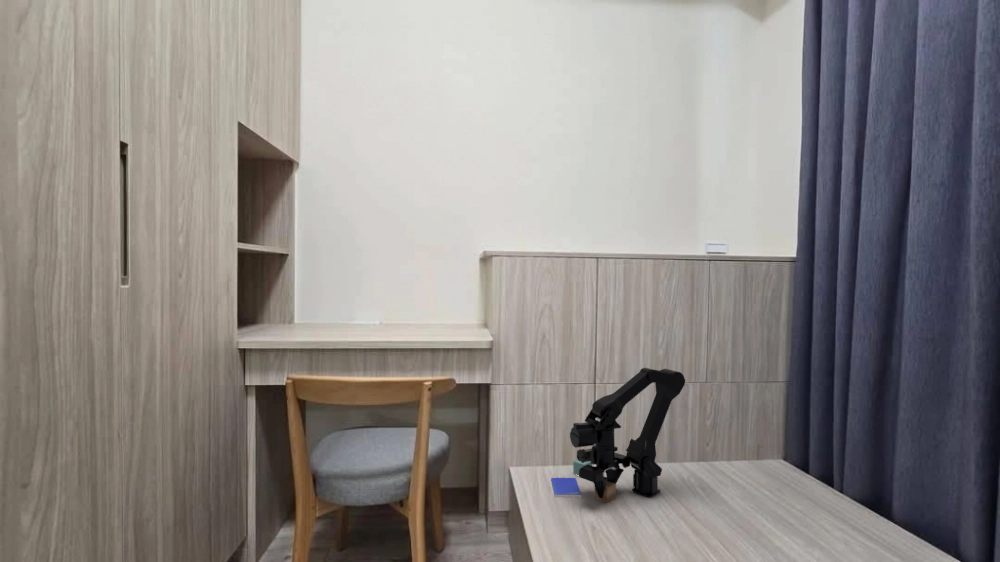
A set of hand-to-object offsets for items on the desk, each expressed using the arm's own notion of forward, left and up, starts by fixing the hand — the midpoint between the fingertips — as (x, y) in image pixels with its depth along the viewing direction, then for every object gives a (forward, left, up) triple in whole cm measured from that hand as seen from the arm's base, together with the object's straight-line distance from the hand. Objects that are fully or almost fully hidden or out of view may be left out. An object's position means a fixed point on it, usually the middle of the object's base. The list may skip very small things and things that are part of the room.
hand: (605, 495), depth 145 cm
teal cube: (+16, -10, -1) cm, 19 cm away
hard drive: (+13, +3, -2) cm, 13 cm away
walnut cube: (0, 0, -1) cm, 1 cm away
